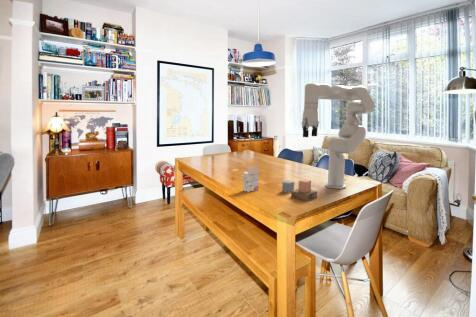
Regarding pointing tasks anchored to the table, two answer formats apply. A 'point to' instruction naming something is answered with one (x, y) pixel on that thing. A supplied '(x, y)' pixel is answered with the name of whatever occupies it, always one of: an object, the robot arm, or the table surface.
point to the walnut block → (303, 195)
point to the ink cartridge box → (250, 179)
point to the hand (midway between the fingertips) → (310, 136)
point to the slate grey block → (287, 186)
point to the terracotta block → (305, 185)
